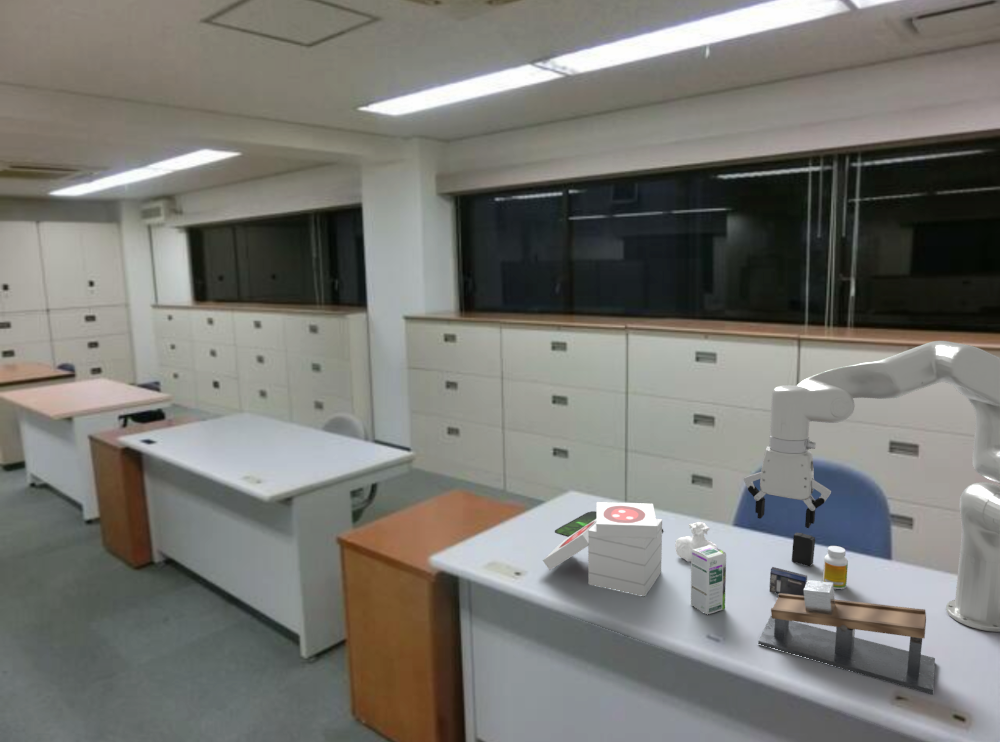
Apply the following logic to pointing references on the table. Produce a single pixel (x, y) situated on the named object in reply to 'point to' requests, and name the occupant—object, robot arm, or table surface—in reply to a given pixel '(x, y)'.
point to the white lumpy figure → (693, 541)
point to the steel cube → (819, 597)
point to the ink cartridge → (803, 549)
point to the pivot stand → (853, 653)
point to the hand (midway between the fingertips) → (784, 521)
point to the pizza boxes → (618, 547)
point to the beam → (855, 616)
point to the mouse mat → (577, 524)
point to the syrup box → (708, 579)
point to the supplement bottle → (835, 567)
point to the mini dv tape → (787, 582)
